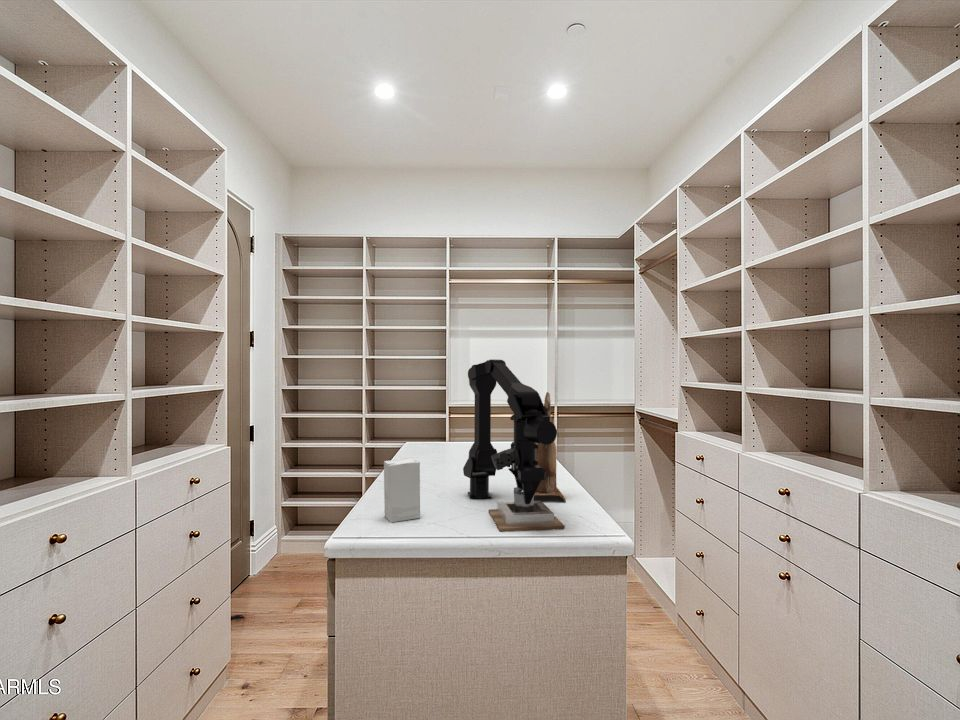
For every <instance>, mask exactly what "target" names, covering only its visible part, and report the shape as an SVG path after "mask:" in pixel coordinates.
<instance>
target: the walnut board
mask: <svg viewBox="0 0 960 720" xmlns="http://www.w3.org/2000/svg"><path fill="white" fill-rule="evenodd" d="M488 514H489V516H490V518H491V517H492V518H491V520H492V519H493V520H492V521H493V523H494V522H495V523H494V524H496V525H495V526H497V527H496V528H497V530H498V532H500V533H503V532H502V531H509V532H523V531H525V532H526V531H531V530H532V531H547V530H548V531H551V530H553V529H555V530H566V528H565V525H564V524H563V522H561V520H560V519H559V518H557V516H555V515H554V524H530V525H505V523H504V521H503V520H502V518H501V517H500V515H499V513H498V512H497V508H492V509H491V508H490V509H488Z"/></svg>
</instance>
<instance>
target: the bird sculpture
mask: <svg viewBox="0 0 960 720" xmlns="http://www.w3.org/2000/svg"><path fill="white" fill-rule="evenodd" d="M551 403H552V402H551V394H550V393H549V392H548V391H547V392H546V393H545V396H544V403H543V405H544V407H545V409H546V413H547V416H550V422H552V415H551V414H552V413H551V406H552V404H551ZM536 444H538V449H536V460H537V461H538V465H539V466H541V467H542V468H543V469H544V470H545V471H546V479H545V480H542V481H541V482H540V484H539V486H538V488H537V490H536V492H535V494H534V497H535V496H558V497H560V498H561V499H562V500H563V501H564V502H565V503H566V502H567V500H566V497H565V496H564V494H563V493H562V492H561V490H560V489H559V488H558V487H557V446H556V443H555V441H554V442H553V443H551V444H549V445H544V444H540V443H536Z"/></svg>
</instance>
